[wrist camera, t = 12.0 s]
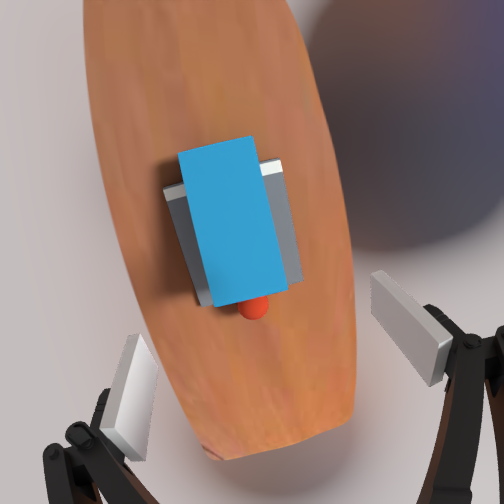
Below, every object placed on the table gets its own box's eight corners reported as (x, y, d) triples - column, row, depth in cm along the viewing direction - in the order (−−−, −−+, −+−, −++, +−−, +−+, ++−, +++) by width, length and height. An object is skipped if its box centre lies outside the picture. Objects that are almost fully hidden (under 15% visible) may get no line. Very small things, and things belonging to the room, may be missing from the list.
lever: (188, 167, 33) (226, 320, 35) (177, 153, 26) (224, 343, 28) (248, 152, 33) (284, 306, 35) (252, 135, 26) (296, 326, 28)
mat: (163, 187, 30) (162, 188, 29) (278, 157, 30) (279, 157, 29) (201, 304, 35) (201, 307, 34) (302, 278, 35) (303, 281, 34)
